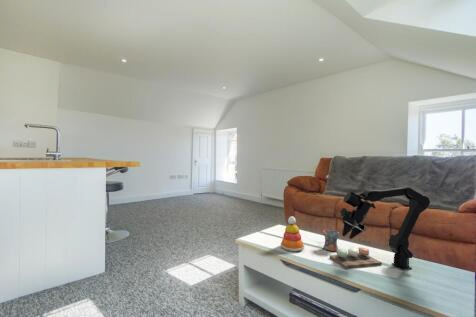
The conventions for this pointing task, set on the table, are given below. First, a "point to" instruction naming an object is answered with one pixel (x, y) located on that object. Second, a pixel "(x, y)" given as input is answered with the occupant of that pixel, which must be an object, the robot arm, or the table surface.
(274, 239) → the table surface
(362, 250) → the terracotta button
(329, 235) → the mug
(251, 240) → the table surface
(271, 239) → the table surface
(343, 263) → the button board
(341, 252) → the sage button
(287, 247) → the stacking toy
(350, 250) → the cream button
